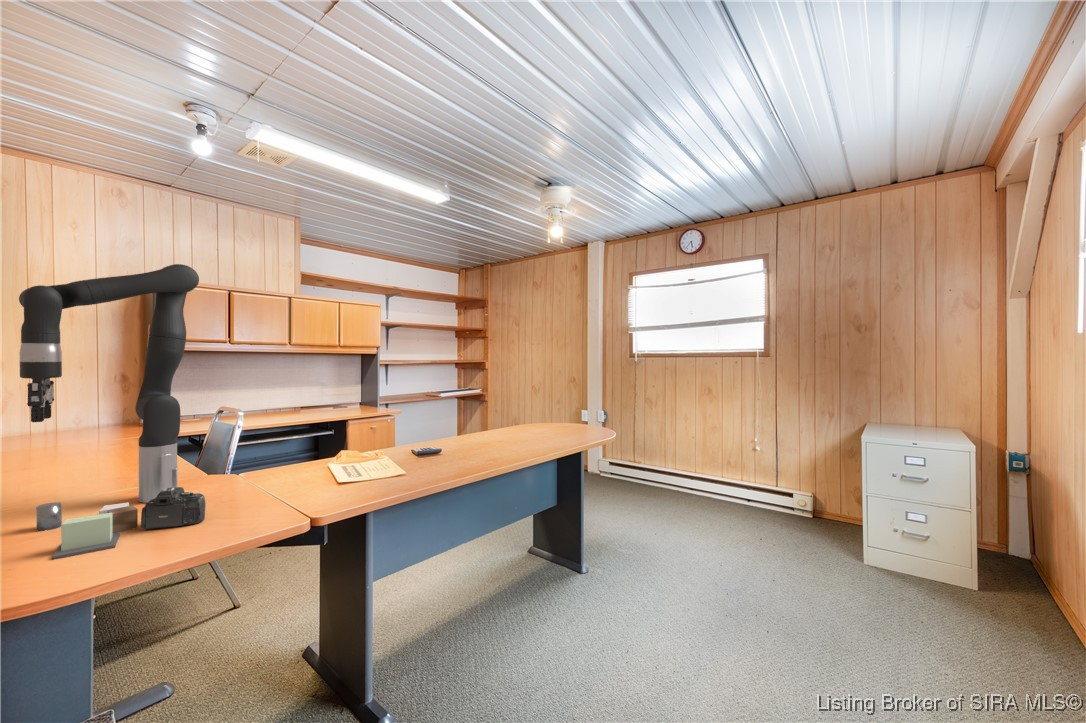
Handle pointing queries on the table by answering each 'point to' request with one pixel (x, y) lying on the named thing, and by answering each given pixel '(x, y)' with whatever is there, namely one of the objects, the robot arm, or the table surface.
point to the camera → (173, 509)
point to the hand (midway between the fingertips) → (41, 420)
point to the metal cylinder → (49, 516)
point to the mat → (87, 548)
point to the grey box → (112, 507)
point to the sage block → (86, 531)
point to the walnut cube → (124, 518)
